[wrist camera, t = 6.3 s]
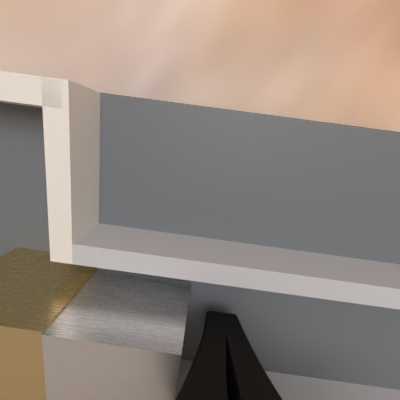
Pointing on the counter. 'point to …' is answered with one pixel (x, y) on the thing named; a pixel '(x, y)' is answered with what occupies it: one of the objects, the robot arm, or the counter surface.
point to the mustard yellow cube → (31, 316)
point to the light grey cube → (118, 339)
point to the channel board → (220, 221)
